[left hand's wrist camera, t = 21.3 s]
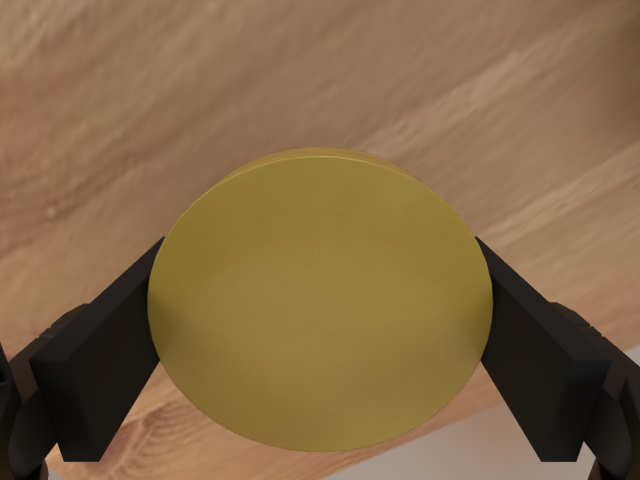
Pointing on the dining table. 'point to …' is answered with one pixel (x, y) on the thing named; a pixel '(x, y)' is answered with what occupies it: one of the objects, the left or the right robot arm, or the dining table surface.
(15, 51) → the dining table surface
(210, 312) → the lid
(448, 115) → the dining table surface
